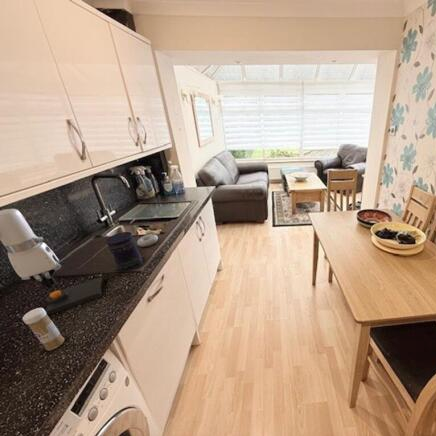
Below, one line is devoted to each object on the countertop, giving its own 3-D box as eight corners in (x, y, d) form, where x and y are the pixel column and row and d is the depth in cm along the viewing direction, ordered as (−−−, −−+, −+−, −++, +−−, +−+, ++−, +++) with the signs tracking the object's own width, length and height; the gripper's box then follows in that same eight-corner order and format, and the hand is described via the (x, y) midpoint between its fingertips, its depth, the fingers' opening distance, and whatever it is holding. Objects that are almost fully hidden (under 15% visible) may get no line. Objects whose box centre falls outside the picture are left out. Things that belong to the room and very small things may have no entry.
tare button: (50, 300, 89) (48, 297, 88) (52, 295, 91) (50, 292, 90) (60, 296, 90) (58, 293, 89) (62, 292, 92) (60, 289, 92)
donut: (137, 242, 131) (138, 250, 123) (135, 237, 129) (136, 244, 122) (157, 236, 135) (159, 243, 128) (155, 231, 134) (157, 238, 126)
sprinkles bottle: (42, 352, 72) (17, 321, 66) (52, 339, 76) (29, 308, 70) (59, 349, 73) (35, 317, 67) (68, 336, 77) (47, 305, 71)
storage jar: (113, 270, 108) (99, 242, 102) (130, 258, 117) (118, 231, 110) (132, 271, 106) (119, 243, 100) (147, 259, 115) (137, 232, 108)
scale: (46, 316, 86) (41, 308, 84) (55, 296, 95) (50, 289, 94) (101, 296, 93) (97, 289, 91) (104, 280, 102) (101, 273, 101)
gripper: (54, 233, 87) (78, 273, 95) (-3, 247, 80) (28, 288, 88) (48, 241, 81) (74, 283, 89) (-14, 257, 74) (21, 301, 82)
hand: (51, 286), depth 89 cm, fingers closed
